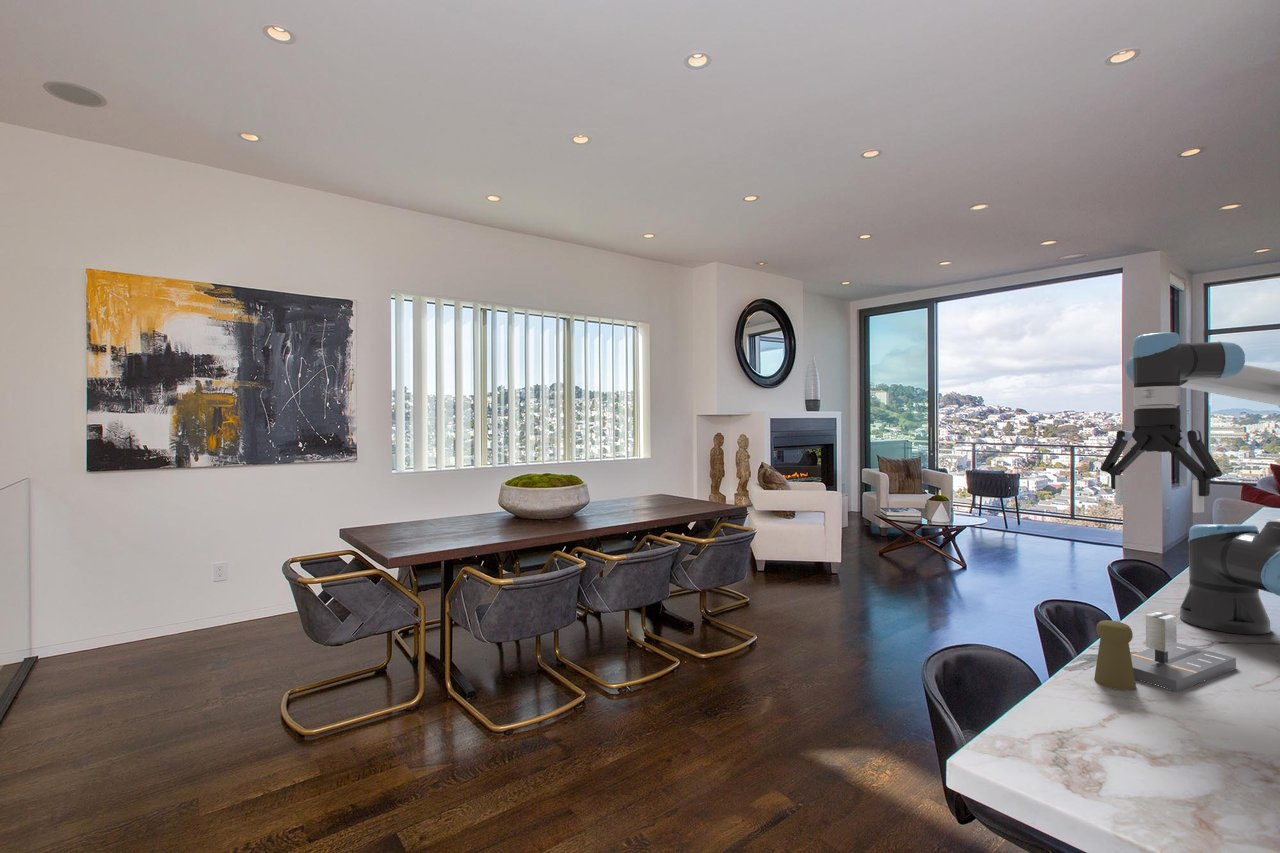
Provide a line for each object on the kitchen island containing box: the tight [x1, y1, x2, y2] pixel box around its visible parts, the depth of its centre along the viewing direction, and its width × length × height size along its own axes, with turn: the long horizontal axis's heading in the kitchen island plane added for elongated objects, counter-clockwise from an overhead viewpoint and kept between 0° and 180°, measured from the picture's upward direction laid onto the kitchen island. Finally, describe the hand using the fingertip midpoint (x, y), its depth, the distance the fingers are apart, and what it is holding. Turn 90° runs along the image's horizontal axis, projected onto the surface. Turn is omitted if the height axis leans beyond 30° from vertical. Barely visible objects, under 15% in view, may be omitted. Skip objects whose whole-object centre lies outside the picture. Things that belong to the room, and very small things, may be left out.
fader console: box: [1130, 642, 1237, 693], centre depth 116 cm, size 22×10×2 cm, turn 116°
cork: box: [1093, 619, 1137, 691], centre depth 111 cm, size 6×6×11 cm
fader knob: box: [1145, 611, 1178, 664], centre depth 114 cm, size 4×3×9 cm
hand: (1157, 508), depth 129 cm, fingers open, 13 cm apart
